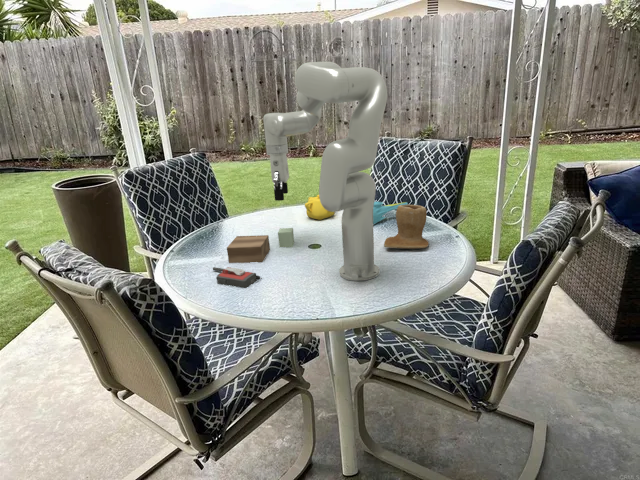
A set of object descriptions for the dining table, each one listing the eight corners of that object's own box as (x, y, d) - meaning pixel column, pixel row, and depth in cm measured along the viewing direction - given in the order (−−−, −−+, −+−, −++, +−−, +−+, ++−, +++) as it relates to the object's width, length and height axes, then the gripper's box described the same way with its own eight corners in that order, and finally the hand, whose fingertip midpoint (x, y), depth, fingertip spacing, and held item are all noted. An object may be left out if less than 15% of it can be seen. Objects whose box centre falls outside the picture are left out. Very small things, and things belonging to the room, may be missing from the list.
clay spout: (428, 240, 161) (428, 200, 156) (428, 252, 151) (429, 210, 145) (386, 240, 165) (385, 201, 160) (383, 252, 154) (382, 210, 149)
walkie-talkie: (265, 278, 140) (215, 270, 149) (263, 265, 139) (213, 258, 148) (249, 290, 133) (198, 281, 142) (247, 277, 132) (195, 268, 141)
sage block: (292, 247, 165) (291, 232, 163) (279, 247, 165) (277, 232, 163) (294, 242, 169) (293, 227, 167) (281, 243, 170) (280, 228, 168)
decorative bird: (334, 230, 180) (333, 208, 177) (383, 212, 199) (382, 192, 195) (359, 237, 170) (358, 214, 167) (408, 217, 189) (407, 196, 186)
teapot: (310, 212, 207) (308, 191, 203) (337, 212, 205) (336, 190, 201) (304, 221, 194) (302, 199, 190) (333, 221, 192) (332, 198, 188)
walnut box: (262, 263, 153) (260, 246, 151) (229, 263, 154) (226, 247, 152) (270, 250, 164) (268, 235, 162) (238, 251, 166) (236, 236, 164)
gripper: (284, 153, 147) (288, 202, 153) (291, 145, 163) (294, 190, 169) (261, 154, 148) (267, 203, 154) (271, 146, 164) (275, 191, 170)
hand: (281, 196), depth 161 cm, fingers open, 9 cm apart
